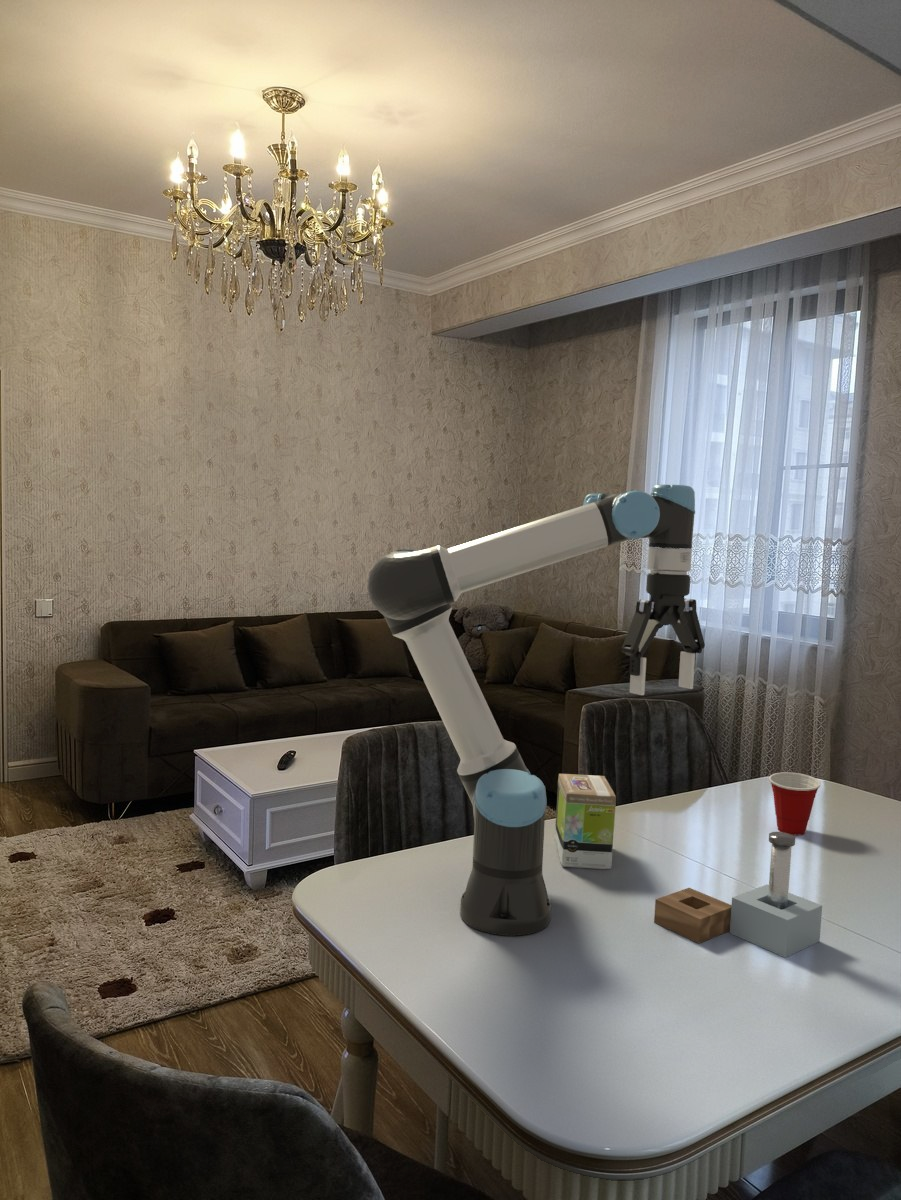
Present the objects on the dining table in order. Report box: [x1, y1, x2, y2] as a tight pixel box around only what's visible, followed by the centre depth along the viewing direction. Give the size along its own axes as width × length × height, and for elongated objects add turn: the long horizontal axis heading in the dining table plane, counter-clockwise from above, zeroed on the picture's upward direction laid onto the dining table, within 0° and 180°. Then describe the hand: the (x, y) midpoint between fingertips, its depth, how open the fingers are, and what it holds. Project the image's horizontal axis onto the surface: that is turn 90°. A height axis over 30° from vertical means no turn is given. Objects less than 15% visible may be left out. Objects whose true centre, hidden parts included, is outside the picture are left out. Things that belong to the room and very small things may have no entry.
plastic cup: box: [768, 771, 822, 836], centre depth 198 cm, size 11×11×12 cm
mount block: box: [653, 887, 732, 944], centre depth 148 cm, size 9×9×4 cm
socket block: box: [729, 884, 823, 958], centre depth 145 cm, size 10×10×6 cm
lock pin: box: [768, 831, 796, 910], centre depth 144 cm, size 4×4×17 cm
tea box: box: [554, 773, 617, 870], centre depth 178 cm, size 15×10×15 cm, turn 179°
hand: (661, 690), depth 159 cm, fingers open, 13 cm apart
